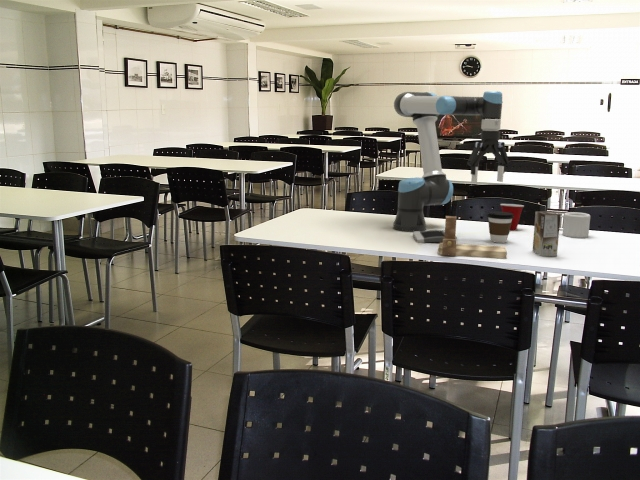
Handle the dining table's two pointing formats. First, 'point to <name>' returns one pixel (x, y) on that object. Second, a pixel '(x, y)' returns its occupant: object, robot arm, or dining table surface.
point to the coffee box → (546, 233)
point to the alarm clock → (430, 236)
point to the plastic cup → (515, 211)
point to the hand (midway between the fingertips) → (487, 182)
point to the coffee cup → (499, 225)
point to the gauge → (450, 237)
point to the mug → (576, 225)
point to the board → (478, 250)
